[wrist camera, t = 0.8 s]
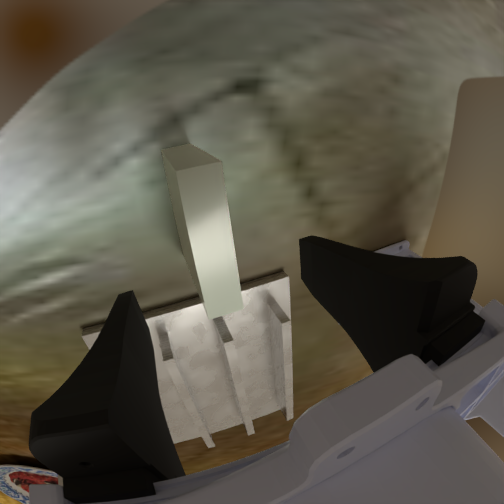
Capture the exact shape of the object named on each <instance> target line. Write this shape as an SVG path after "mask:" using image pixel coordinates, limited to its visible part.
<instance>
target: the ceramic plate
mask: <svg viewBox="0 0 504 504" xmlns="http://www.w3.org/2000/svg"><path fill="white" fill-rule="evenodd" d="M31 484H57V485H58V474H56V473H55V472H53V471H52V470H47V469H42V468H37V467H29V466H23V465H7V464H4V465H0V490H1V491H2V492H3V493H5V494H6V495H8V496H10V497H11V498H13V499H15V500H17V501H19V502H21V503H24V504H30V502H29V485H31Z"/></svg>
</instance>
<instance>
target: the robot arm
mask: <svg viewBox="0 0 504 504" xmlns="http://www.w3.org/2000/svg"><path fill="white" fill-rule="evenodd" d="M299 246H300V263H301V279H302V280H303V282H304V283H305V285H306V286H307V288H308V289H309V291H310V292H311V293H312V295H313V296H314V297H315V298H316V299H317V300H318V301H319V303H320V304H321V305H322V306H323V307H324V308H325V309H326V310H327V311H328V312H329V313H330V314H331V315H332V316H333V318H334V319H335V320H336V321H337V322H338V323H339V324H340V325H341V326H342V327H343V328H344V330H345V331H346V332H347V333H348V335H349V336H350V337H351V339H352V340H353V341H354V343H355V344H356V346H357V347H358V349H359V350H360V352H361V353H362V355H363V356H364V358H365V359H366V361H367V362H368V364H369V365H370V367H371V369H372V370H373V372H374V373H373V374H371V375H369V376H367V377H365V378H364V379H362V380H360V381H358V382H356V383H355V384H353V385H351V386H349V387H347V388H345V389H343V390H341V391H339V392H337V393H335V394H333V395H331V396H329V397H327V398H325V399H324V400H322V401H320V402H319V403H317V404H315V405H314V406H312V407H311V408H309V409H307V410H306V411H305V412H304V413H303V414H302V415H301V416H300V417H299V418H298V419H297V420H296V421H295V423H294V425H293V428H292V430H291V432H290V435H289V439H290V440H289V441H287V442H285V443H282V444H280V445H277V446H275V447H272V448H270V449H267V450H265V451H262V452H260V453H257V454H254V455H251V456H249V457H246V458H243V459H240V460H237V461H234V462H231V463H228V464H225V465H222V466H218V467H215V468H212V469H208V470H205V471H201V472H198V473H194V474H190V475H185V472H184V470H183V467H182V465H181V463H180V460H179V457H178V454H177V452H176V449H175V446H174V443H173V440H172V437H171V434H170V431H169V428H168V425H167V422H166V418H165V415H164V411H163V407H162V404H161V399H160V394H159V387H158V379H157V371H156V363H155V354H154V347H153V343H152V339H151V334H150V330H149V327H148V325H147V322H146V320H145V318H144V316H143V313H142V311H141V309H140V306H139V304H138V302H137V299H136V297H135V294H134V292H133V290H132V291H128V292H125V293H122V294H119V295H118V297H117V299H116V301H115V303H114V305H113V307H112V309H111V311H110V314H109V316H108V318H107V320H106V322H105V324H104V326H103V328H102V330H101V331H100V333H99V335H98V337H97V339H96V341H95V342H94V344H93V346H92V347H91V349H90V350H89V352H88V353H87V355H86V356H85V358H84V359H83V361H82V362H81V363H80V365H79V366H78V367H77V368H76V370H75V371H74V372H73V373H72V375H71V376H70V377H69V378H68V379H67V380H66V382H65V383H64V384H63V385H62V386H61V387H60V388H59V389H58V390H57V391H56V392H55V393H54V394H53V395H52V396H51V397H50V398H49V399H47V400H46V401H45V402H44V403H43V404H42V405H40V406H39V407H38V408H37V409H36V410H34V411H33V412H32V416H31V424H30V435H29V450H30V451H31V453H32V454H33V456H34V457H35V458H36V459H37V460H38V461H40V462H41V463H42V464H43V465H45V466H46V467H48V468H49V469H50V470H52V471H53V472H55V473H56V474H58V475H59V476H61V477H62V478H63V486H61V485H57V484H31V485H29V502H30V504H504V463H503V461H502V460H501V459H500V458H499V457H498V456H497V455H496V454H495V452H494V451H493V450H492V449H491V448H490V447H489V446H488V445H487V444H486V443H485V442H484V441H483V439H482V438H481V437H480V436H479V435H477V433H476V432H475V431H474V430H473V429H472V428H471V427H470V426H469V425H468V424H467V422H466V421H465V420H468V419H472V418H475V417H481V418H482V419H484V420H485V421H486V422H487V423H488V424H489V425H490V426H492V427H493V428H494V429H495V430H496V431H497V432H499V433H500V434H501V435H502V436H503V437H504V305H502V304H501V303H500V302H498V301H497V300H495V299H493V300H491V302H489V303H488V304H487V305H486V306H485V307H484V308H483V307H482V306H480V305H479V304H478V303H476V302H475V301H474V300H472V299H471V296H472V293H473V290H474V287H475V284H476V280H477V267H476V265H475V264H474V263H473V262H471V261H470V260H468V259H466V258H465V257H462V256H458V257H445V258H422V257H421V256H419V255H417V254H416V253H414V252H413V251H411V250H409V241H407V240H404V241H402V242H399V243H396V244H393V245H391V246H388V247H385V248H382V249H380V250H377V251H374V252H372V251H368V250H364V249H360V248H356V247H353V246H349V245H346V244H342V243H339V242H335V241H332V240H329V239H325V238H321V237H317V236H308V237H305V238H302V239H299Z"/></svg>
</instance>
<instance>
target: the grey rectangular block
mask: <svg viewBox="0 0 504 504" xmlns="http://www.w3.org/2000/svg"><path fill="white" fill-rule="evenodd" d="M161 153H162V158H163V163H164V169H165V174H166V179H167V184H168V189H169V193H170V198H171V203H172V208H173V212H174V217H175V221H176V226H177V230H178V234H179V239H180V243H181V247H182V251H183V255H184V258H185V261H186V263H187V266H188V269H189V271H190V274H191V276H192V279H193V282H194V284H195V287H196V289H197V292H198V294H199V297H200V299H201V302H202V304H203V307H204V309H205V312H206V314H207V317H208V319H209V320H210V319H214V318H217V317H220V316H223V315H227V314H230V313H233V312H236V311H239V310H242V309H244V306H243V299H242V293H241V287H240V280H239V274H238V268H237V261H236V255H235V248H234V242H233V235H232V228H231V222H230V215H229V208H228V201H227V194H226V187H225V180H224V173H223V166H222V161H220V160H219V159H217V158H215V157H214V156H212V155H210V154H208V153H207V152H205V151H203V150H201V149H199V148H198V147H196V146H194V145H192V144H190V143H189V144H184V145H180V146H175V147H171V148H166V149H162V150H161Z"/></svg>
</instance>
